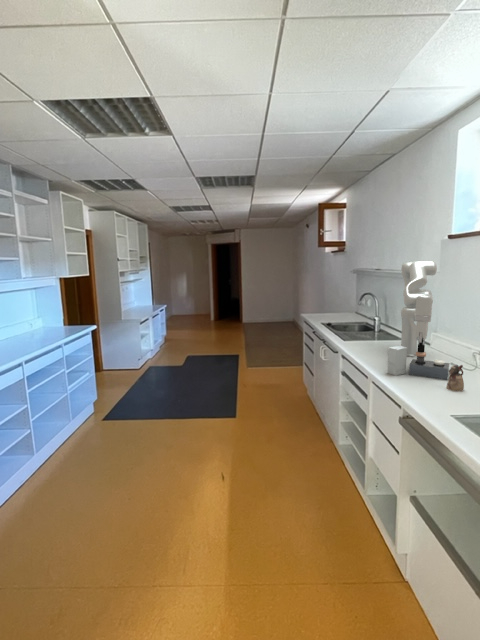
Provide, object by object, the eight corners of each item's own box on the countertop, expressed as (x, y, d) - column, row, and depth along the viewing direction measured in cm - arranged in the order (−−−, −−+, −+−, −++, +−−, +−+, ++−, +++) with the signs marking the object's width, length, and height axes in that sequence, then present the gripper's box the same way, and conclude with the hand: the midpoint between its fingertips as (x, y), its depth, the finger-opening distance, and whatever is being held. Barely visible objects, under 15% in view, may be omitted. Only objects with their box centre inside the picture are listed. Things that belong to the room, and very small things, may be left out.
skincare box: (397, 370, 202) (398, 345, 200) (406, 373, 197) (407, 347, 195) (386, 373, 199) (387, 346, 196) (395, 376, 193) (396, 349, 191)
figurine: (446, 385, 178) (448, 361, 176) (463, 387, 174) (465, 363, 172) (446, 389, 172) (447, 365, 170) (463, 392, 168) (465, 367, 166)
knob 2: (433, 372, 196) (434, 359, 194) (444, 374, 193) (445, 360, 192) (432, 375, 192) (433, 361, 190) (443, 376, 189) (444, 362, 188)
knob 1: (415, 364, 200) (416, 351, 199) (425, 365, 197) (426, 352, 196) (414, 366, 196) (415, 353, 195) (424, 367, 193) (425, 354, 192)
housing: (412, 369, 205) (412, 358, 204) (448, 373, 195) (449, 363, 194) (408, 374, 195) (409, 364, 194) (447, 380, 185) (447, 368, 184)
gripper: (417, 316, 201) (415, 348, 203) (413, 319, 188) (411, 354, 191) (432, 317, 197) (430, 349, 199) (429, 320, 184) (426, 355, 187)
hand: (420, 351), depth 195 cm, fingers closed
